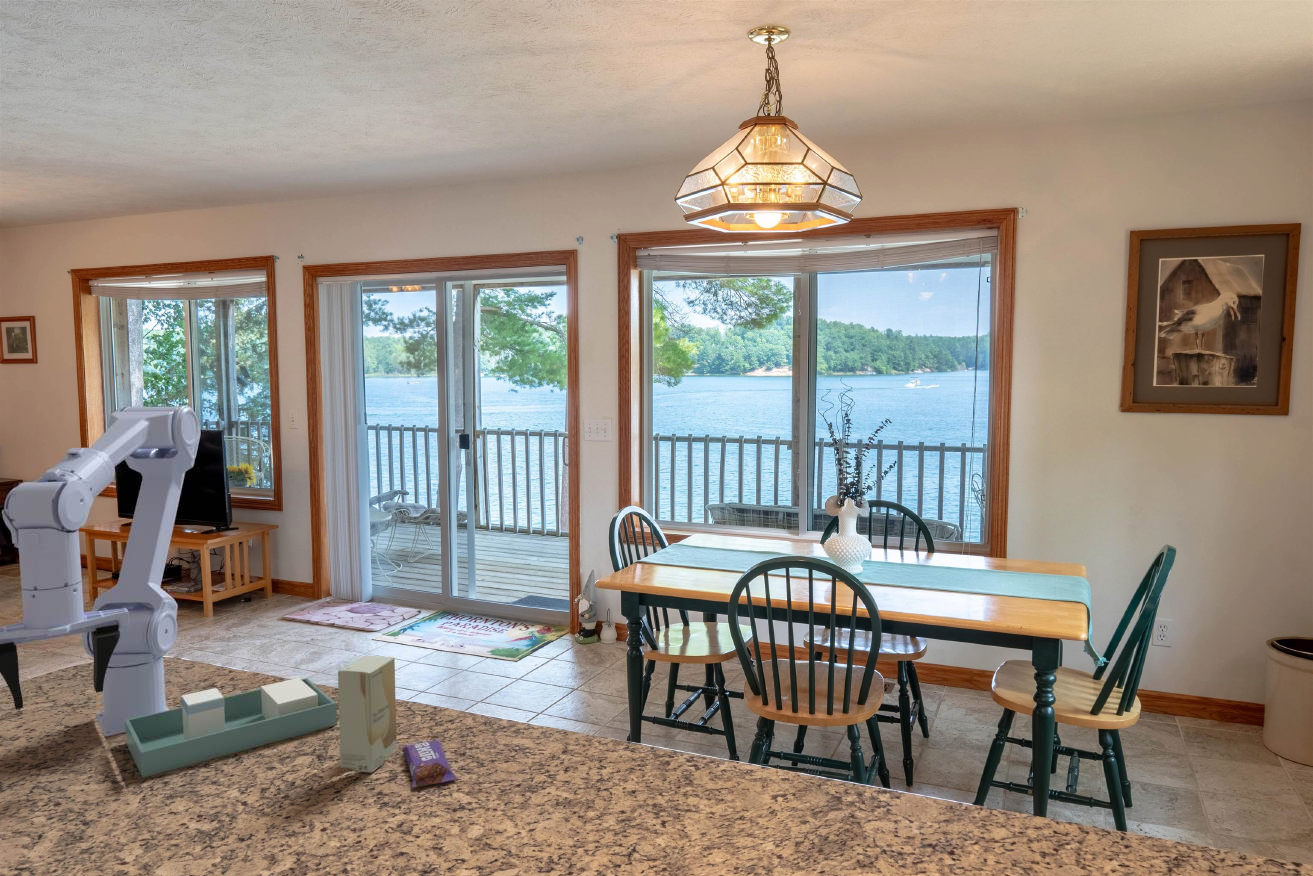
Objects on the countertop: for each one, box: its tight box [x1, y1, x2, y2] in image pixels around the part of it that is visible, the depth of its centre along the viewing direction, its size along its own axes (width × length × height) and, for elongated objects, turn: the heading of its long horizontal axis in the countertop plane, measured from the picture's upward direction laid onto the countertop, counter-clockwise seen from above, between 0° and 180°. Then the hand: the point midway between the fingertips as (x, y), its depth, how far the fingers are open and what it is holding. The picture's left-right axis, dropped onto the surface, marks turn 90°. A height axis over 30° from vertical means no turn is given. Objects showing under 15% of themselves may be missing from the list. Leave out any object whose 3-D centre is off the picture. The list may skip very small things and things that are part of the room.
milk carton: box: [180, 687, 225, 740], centre depth 107 cm, size 4×4×6 cm
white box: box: [260, 677, 318, 719], centre depth 114 cm, size 8×5×4 cm, turn 40°
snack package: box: [401, 739, 458, 789], centre depth 102 cm, size 12×2×5 cm
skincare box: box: [337, 655, 398, 773], centre depth 103 cm, size 6×4×12 cm
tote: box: [125, 677, 338, 779], centre depth 110 cm, size 12×22×4 cm, turn 130°
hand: (59, 697), depth 99 cm, fingers open, 7 cm apart
